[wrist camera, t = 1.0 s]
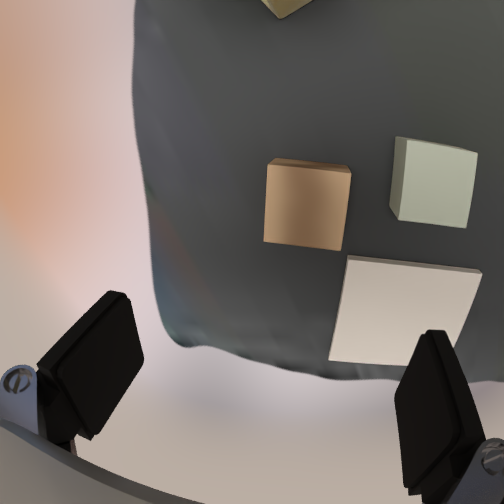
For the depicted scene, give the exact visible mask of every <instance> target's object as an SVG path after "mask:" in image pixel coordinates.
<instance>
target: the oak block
mask: <svg viewBox="0 0 504 504" xmlns="http://www.w3.org/2000/svg"><path fill="white" fill-rule="evenodd" d="M350 181H351V172H350V170H349V168H348V166H346V165H339V164H331V163H322V162H313V161H304V160H293V159H282V158H275V159H274V160H272V161H271V162H270V163H269V164H268V168H267V188H266V207H265V225H264V242H273V243H281V244H289V245H297V246H305V247H313V248H321V249H329V250H337V251H341V245H342V239H343V233H344V226H345V219H346V212H347V205H348V197H349V189H350Z"/></svg>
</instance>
